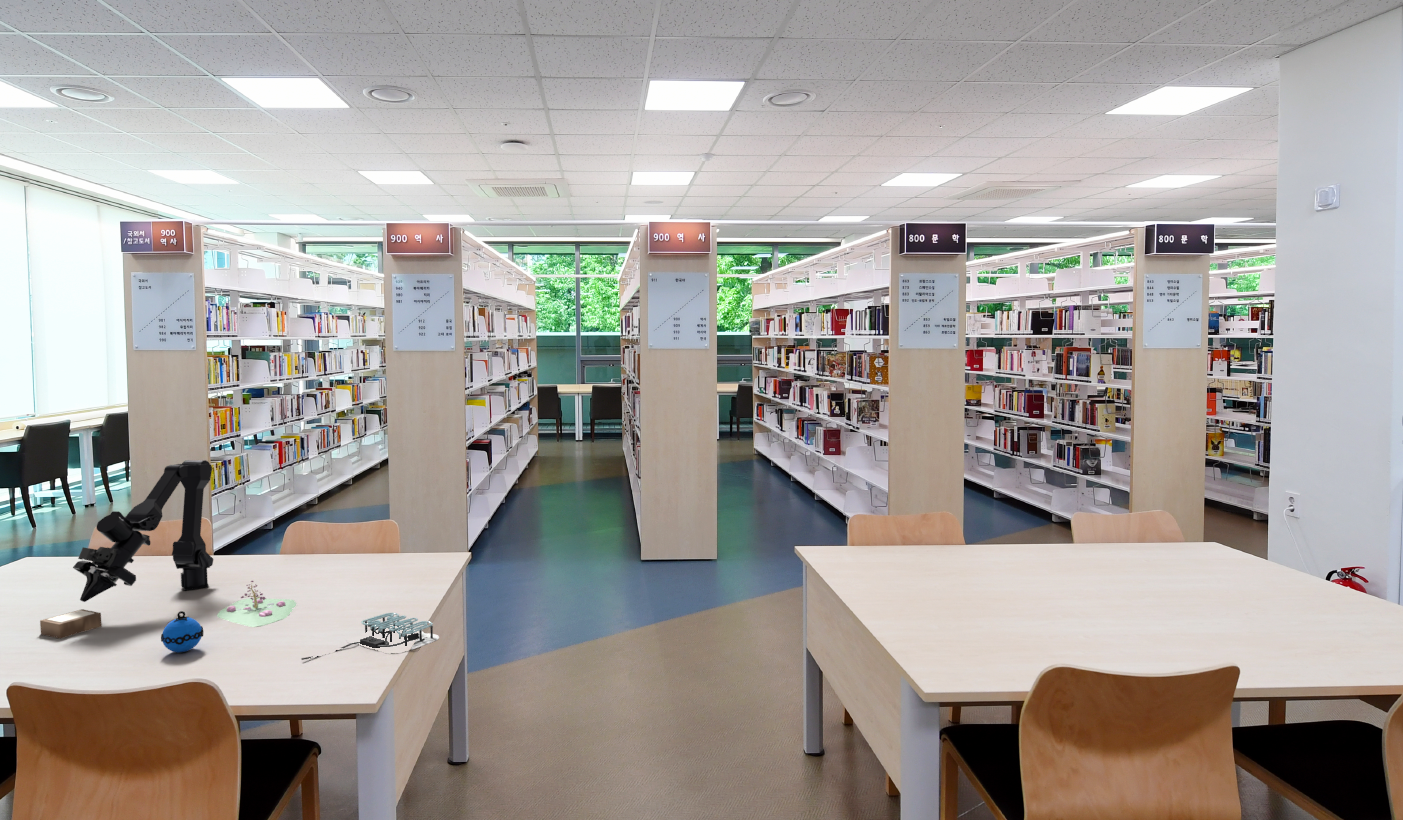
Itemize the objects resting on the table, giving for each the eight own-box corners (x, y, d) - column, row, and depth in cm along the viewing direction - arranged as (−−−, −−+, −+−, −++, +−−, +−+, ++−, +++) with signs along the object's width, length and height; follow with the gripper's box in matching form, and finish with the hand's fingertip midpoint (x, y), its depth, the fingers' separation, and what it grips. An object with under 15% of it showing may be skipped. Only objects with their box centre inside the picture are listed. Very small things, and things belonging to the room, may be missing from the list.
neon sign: (287, 642, 194) (391, 609, 219) (288, 659, 195) (392, 624, 219) (341, 659, 183) (445, 623, 208) (342, 678, 183) (445, 639, 208)
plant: (313, 616, 226) (312, 585, 225) (230, 634, 212) (229, 600, 211) (285, 597, 244) (283, 567, 243) (206, 612, 230) (205, 581, 229)
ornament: (159, 660, 193) (157, 619, 192) (165, 648, 200) (163, 608, 200) (201, 654, 196) (199, 614, 196) (205, 643, 204) (204, 604, 203)
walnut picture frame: (82, 608, 219) (40, 619, 210) (100, 612, 216) (58, 623, 207) (82, 623, 219) (40, 635, 210) (101, 627, 216) (59, 639, 207)
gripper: (78, 531, 223) (35, 581, 214) (122, 538, 215) (79, 590, 206) (110, 553, 231) (70, 602, 221) (153, 560, 223) (113, 611, 214)
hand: (82, 601), depth 216 cm, fingers closed
